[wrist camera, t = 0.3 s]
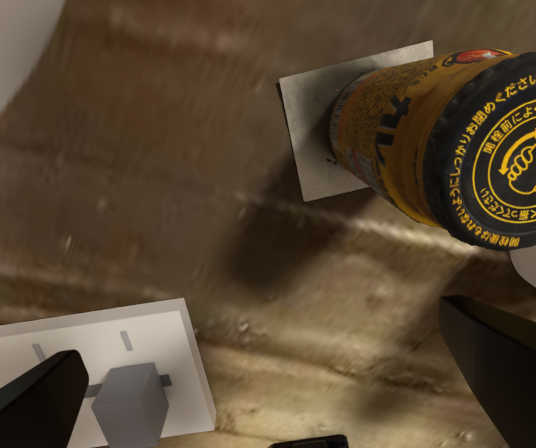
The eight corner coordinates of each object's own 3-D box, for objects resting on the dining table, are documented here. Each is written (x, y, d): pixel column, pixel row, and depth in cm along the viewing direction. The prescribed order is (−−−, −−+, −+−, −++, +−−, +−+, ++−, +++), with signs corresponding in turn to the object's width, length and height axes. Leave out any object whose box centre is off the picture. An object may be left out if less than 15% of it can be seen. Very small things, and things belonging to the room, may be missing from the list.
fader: (169, 405, 24) (157, 446, 21) (128, 411, 24) (111, 452, 21) (154, 362, 23) (139, 399, 20) (111, 368, 23) (90, 406, 20)
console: (216, 412, 27) (214, 431, 26) (-23, 447, 28) (-39, 467, 26) (183, 297, 23) (178, 311, 22) (-94, 339, 24) (-118, 356, 22)
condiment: (437, 170, 21) (651, 253, 10) (303, 201, 21) (357, 316, 10) (430, 40, 18) (712, -55, 7) (278, 79, 19) (312, 47, 7)
